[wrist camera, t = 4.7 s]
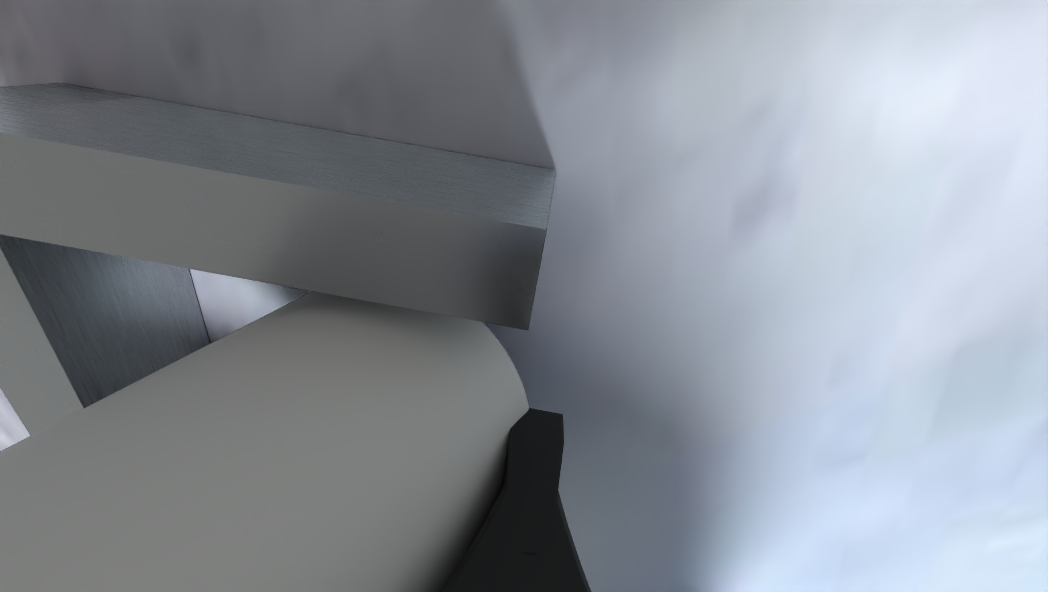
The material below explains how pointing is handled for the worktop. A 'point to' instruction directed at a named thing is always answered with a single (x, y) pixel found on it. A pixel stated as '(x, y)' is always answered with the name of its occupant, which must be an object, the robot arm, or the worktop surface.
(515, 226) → the grey piece
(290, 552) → the beverage can
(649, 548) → the worktop surface
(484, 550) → the robot arm
